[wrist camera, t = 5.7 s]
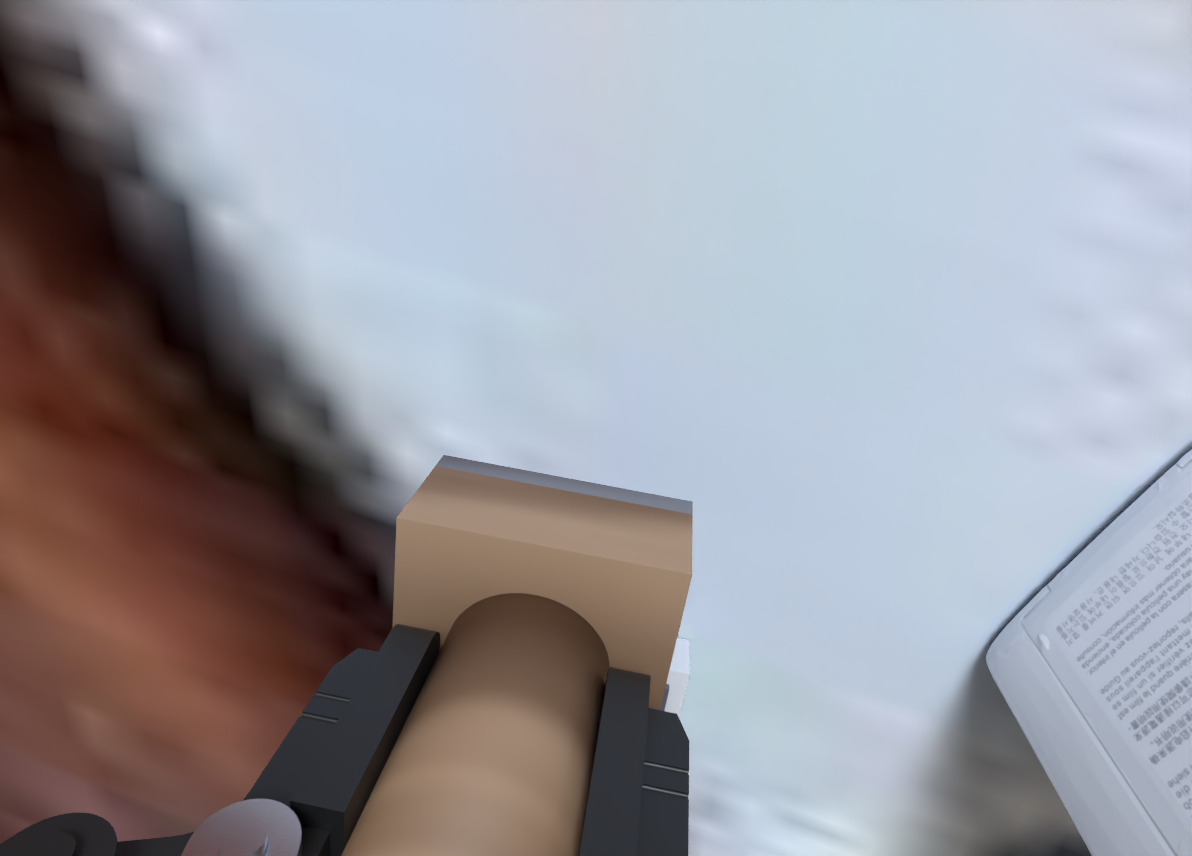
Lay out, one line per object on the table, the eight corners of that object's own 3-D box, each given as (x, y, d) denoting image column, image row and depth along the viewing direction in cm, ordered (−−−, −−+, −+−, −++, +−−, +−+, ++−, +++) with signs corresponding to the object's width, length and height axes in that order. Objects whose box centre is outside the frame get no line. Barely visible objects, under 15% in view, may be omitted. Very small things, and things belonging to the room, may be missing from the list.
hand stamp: (443, 455, 14) (216, 756, 8) (692, 501, 14) (689, 859, 7) (431, 651, 16) (243, 1028, 10) (648, 696, 16) (614, 1118, 9)
